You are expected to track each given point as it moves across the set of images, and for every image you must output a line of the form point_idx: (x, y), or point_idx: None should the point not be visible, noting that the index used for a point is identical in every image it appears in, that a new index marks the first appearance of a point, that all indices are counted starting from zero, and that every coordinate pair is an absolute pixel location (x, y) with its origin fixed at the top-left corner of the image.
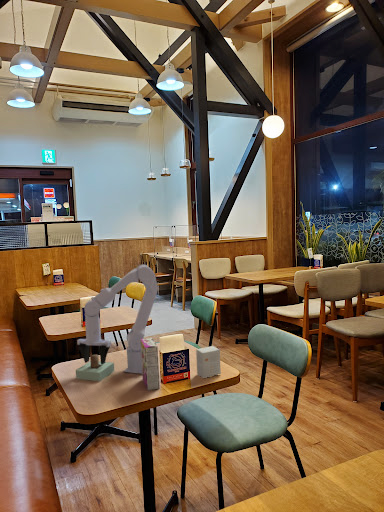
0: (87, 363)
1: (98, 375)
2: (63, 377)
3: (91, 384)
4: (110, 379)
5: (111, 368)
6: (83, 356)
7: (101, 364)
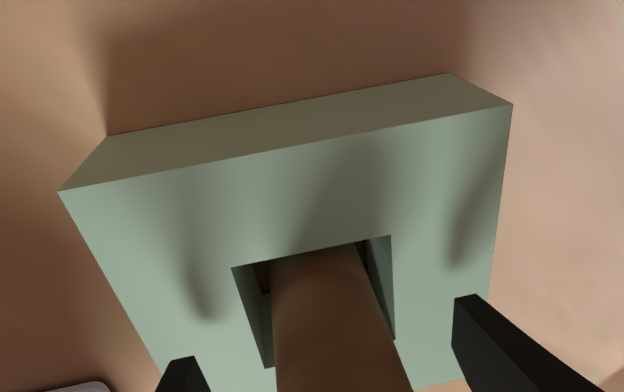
0: None
1: (98, 166)
2: (619, 36)
3: (119, 10)
4: (51, 227)
5: None
6: (557, 372)
7: None
